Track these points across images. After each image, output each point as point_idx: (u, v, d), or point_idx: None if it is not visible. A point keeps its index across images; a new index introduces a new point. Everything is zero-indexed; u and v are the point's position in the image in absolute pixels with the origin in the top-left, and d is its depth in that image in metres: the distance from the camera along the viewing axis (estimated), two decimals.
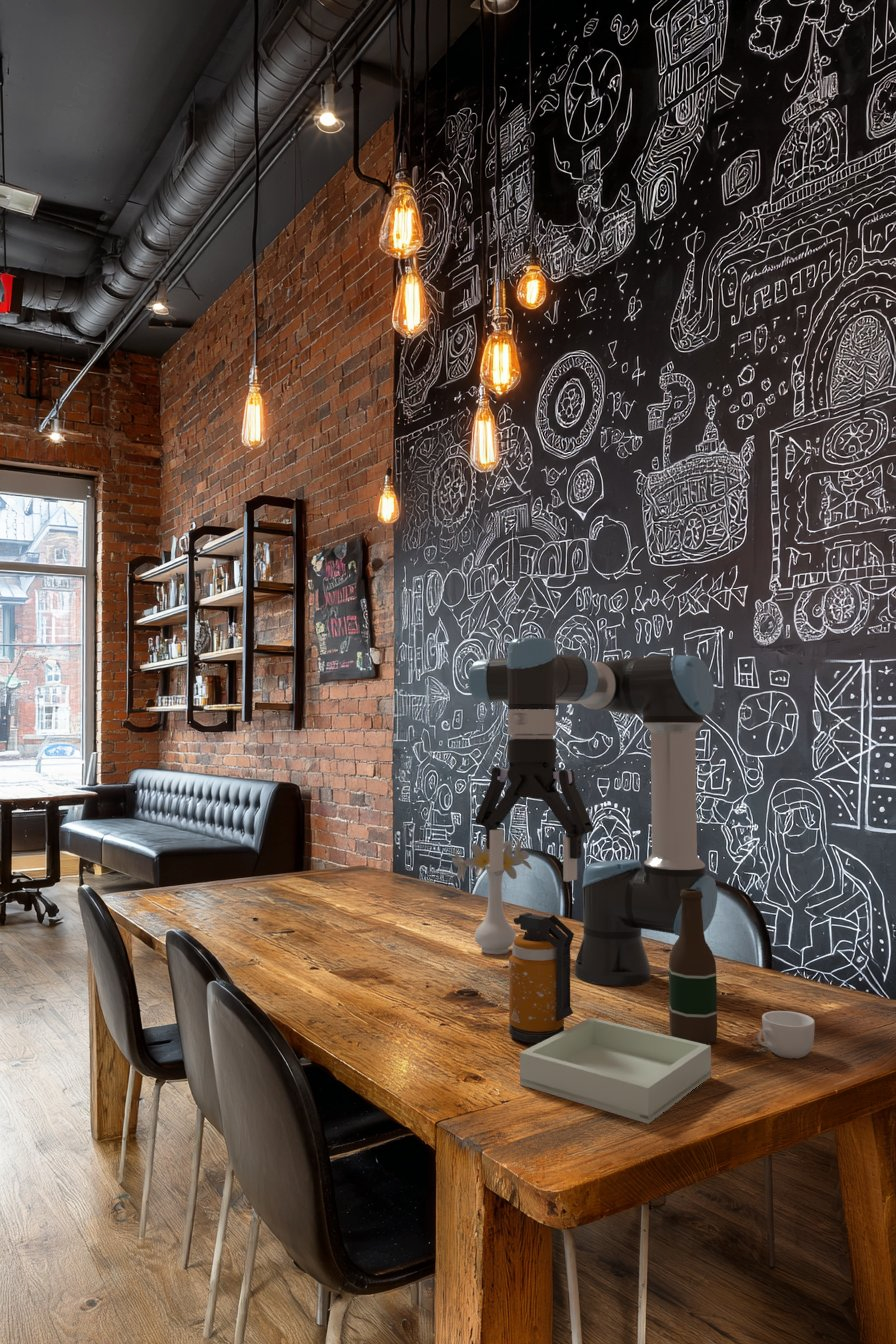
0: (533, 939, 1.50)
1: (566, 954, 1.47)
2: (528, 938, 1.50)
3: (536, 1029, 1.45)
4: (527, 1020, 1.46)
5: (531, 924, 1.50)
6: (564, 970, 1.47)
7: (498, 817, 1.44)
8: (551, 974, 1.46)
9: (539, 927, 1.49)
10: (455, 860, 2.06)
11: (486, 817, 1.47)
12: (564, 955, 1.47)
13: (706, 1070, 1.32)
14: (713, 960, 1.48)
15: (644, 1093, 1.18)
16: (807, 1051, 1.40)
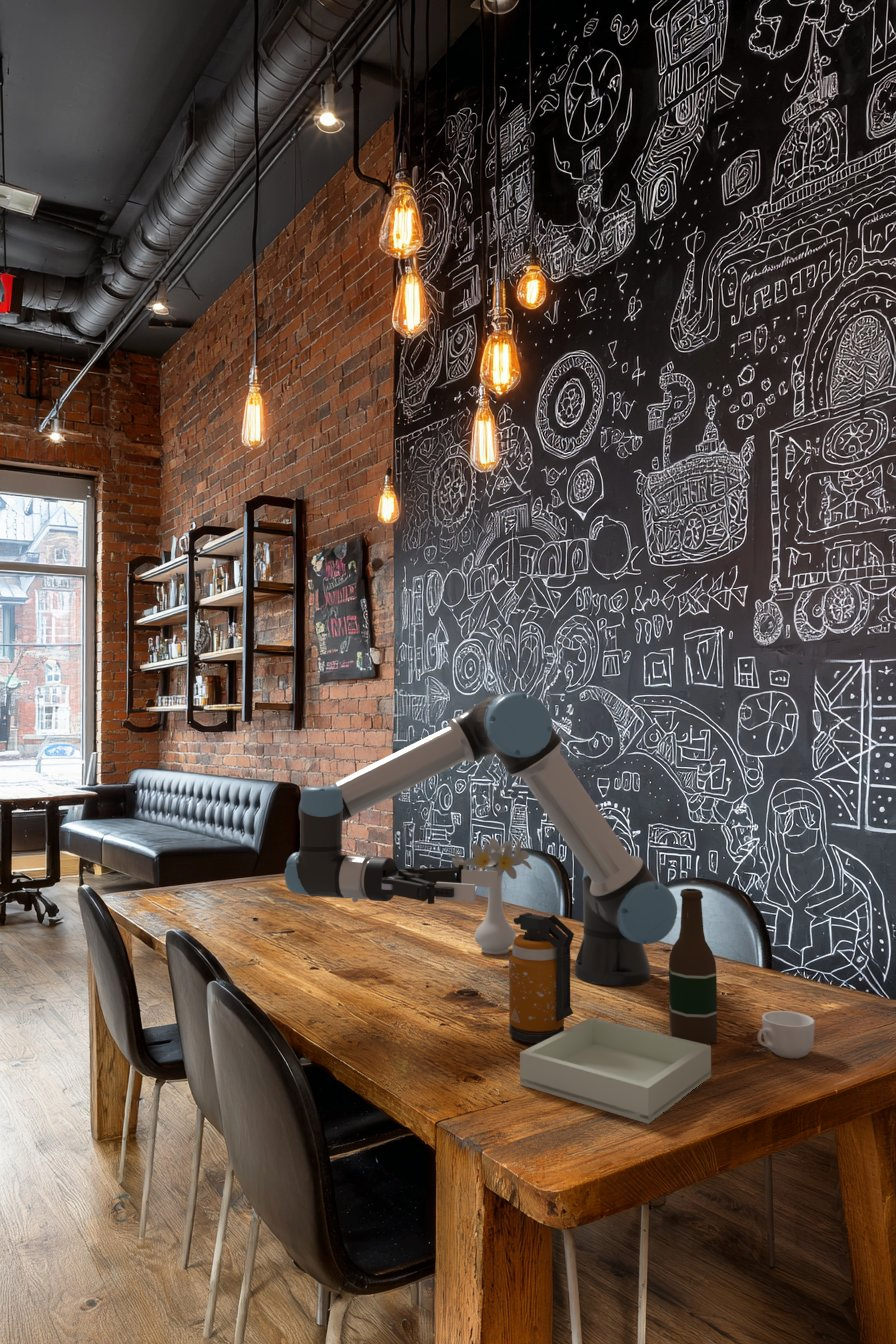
0: (533, 939, 1.50)
1: (566, 954, 1.47)
2: (528, 938, 1.50)
3: (536, 1029, 1.45)
4: (527, 1020, 1.46)
5: (531, 924, 1.50)
6: (564, 970, 1.47)
7: (449, 882, 1.62)
8: (551, 974, 1.46)
9: (539, 927, 1.49)
10: (455, 860, 2.06)
11: (456, 873, 1.64)
12: (564, 955, 1.47)
13: (706, 1070, 1.32)
14: (713, 960, 1.48)
15: (644, 1093, 1.18)
16: (807, 1051, 1.40)
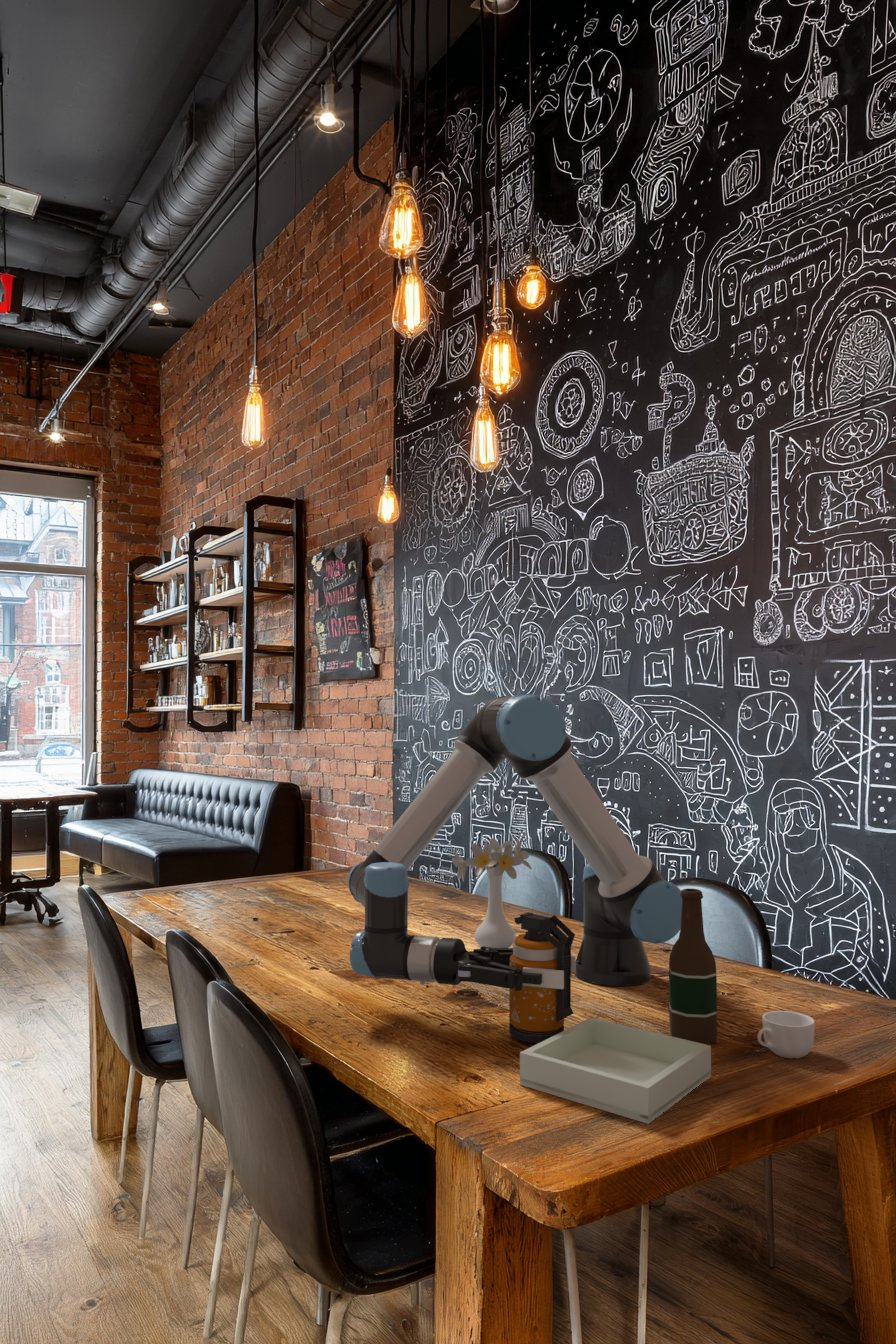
0: (534, 939, 1.49)
1: (567, 955, 1.47)
2: (529, 938, 1.50)
3: (536, 1029, 1.45)
4: (527, 1020, 1.46)
5: (532, 924, 1.50)
6: (565, 970, 1.47)
7: None
8: None
9: (539, 927, 1.49)
10: (455, 860, 2.06)
11: None
12: (565, 956, 1.46)
13: (706, 1070, 1.32)
14: (713, 960, 1.48)
15: (644, 1093, 1.18)
16: (807, 1051, 1.40)
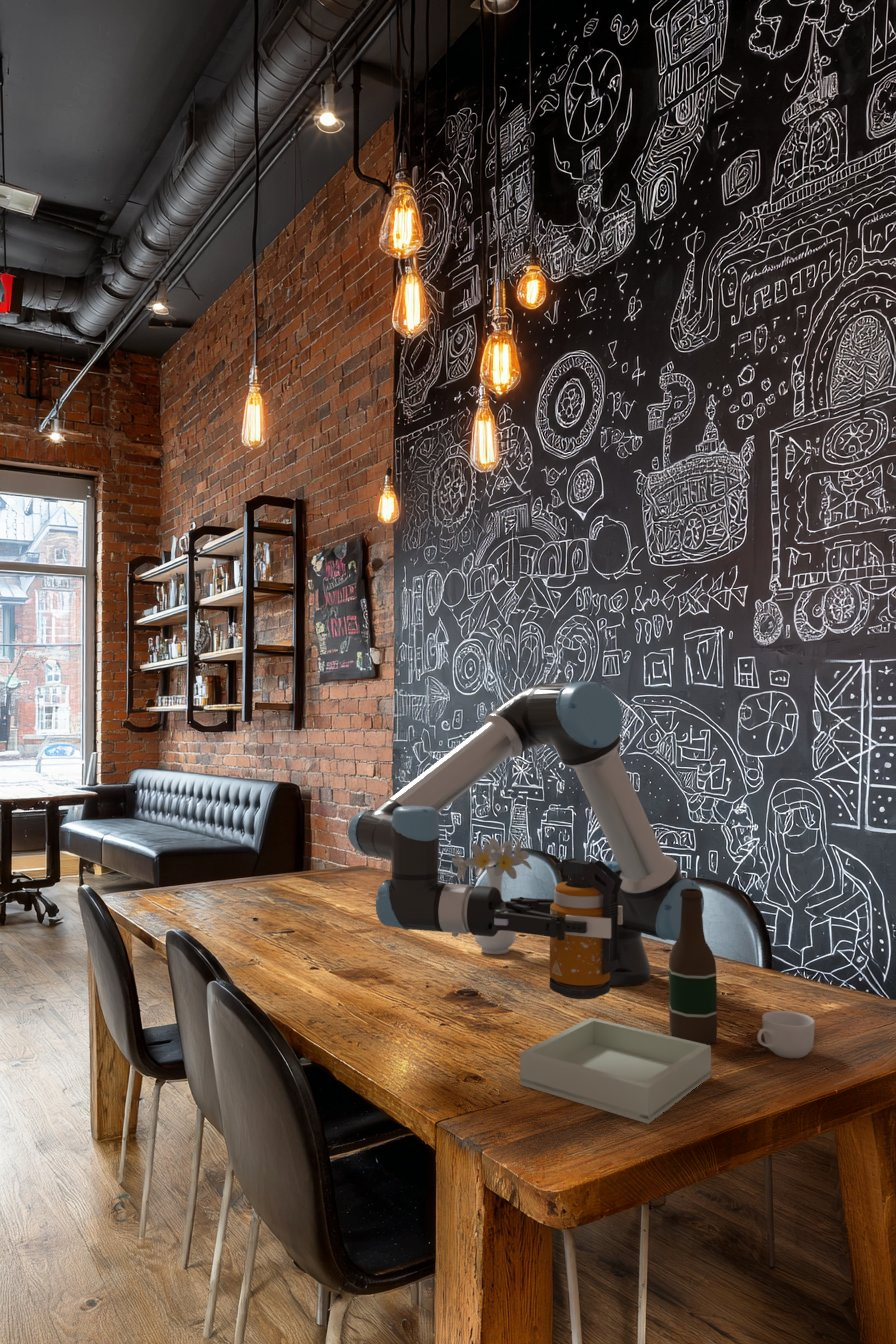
0: (577, 885, 1.36)
1: (613, 902, 1.34)
2: (571, 885, 1.37)
3: (580, 983, 1.32)
4: (570, 973, 1.33)
5: (575, 869, 1.37)
6: (611, 919, 1.34)
7: None
8: None
9: (583, 872, 1.36)
10: (455, 860, 2.06)
11: None
12: (611, 903, 1.33)
13: (706, 1070, 1.32)
14: (713, 960, 1.48)
15: (644, 1093, 1.18)
16: (807, 1051, 1.40)
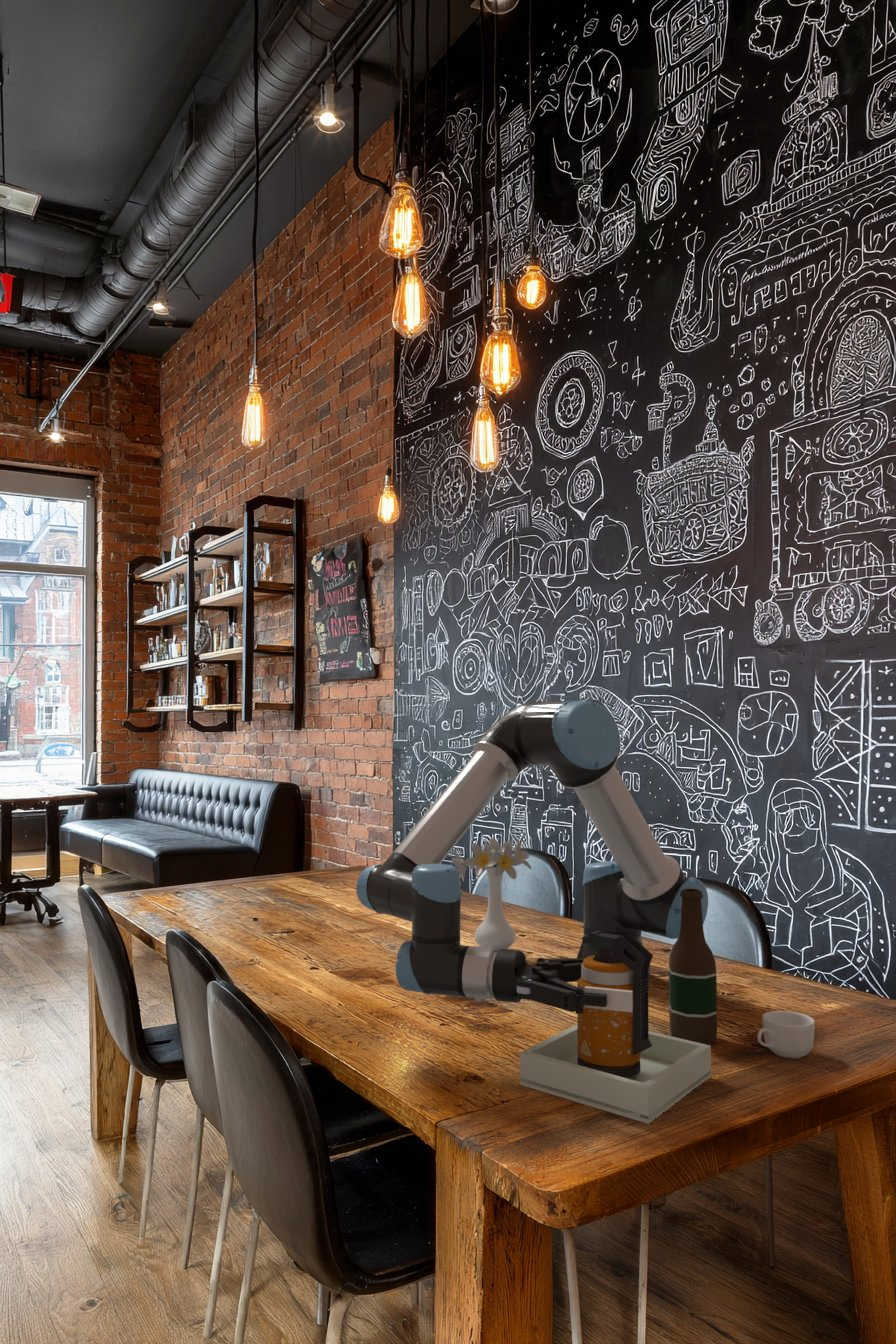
0: (605, 960, 1.32)
1: (644, 978, 1.29)
2: (599, 959, 1.33)
3: (610, 1064, 1.28)
4: (600, 1053, 1.28)
5: (603, 943, 1.32)
6: (642, 996, 1.29)
7: None
8: None
9: (612, 947, 1.32)
10: (455, 860, 2.06)
11: None
12: (642, 979, 1.29)
13: (706, 1070, 1.32)
14: (713, 960, 1.48)
15: (644, 1093, 1.18)
16: (807, 1051, 1.40)
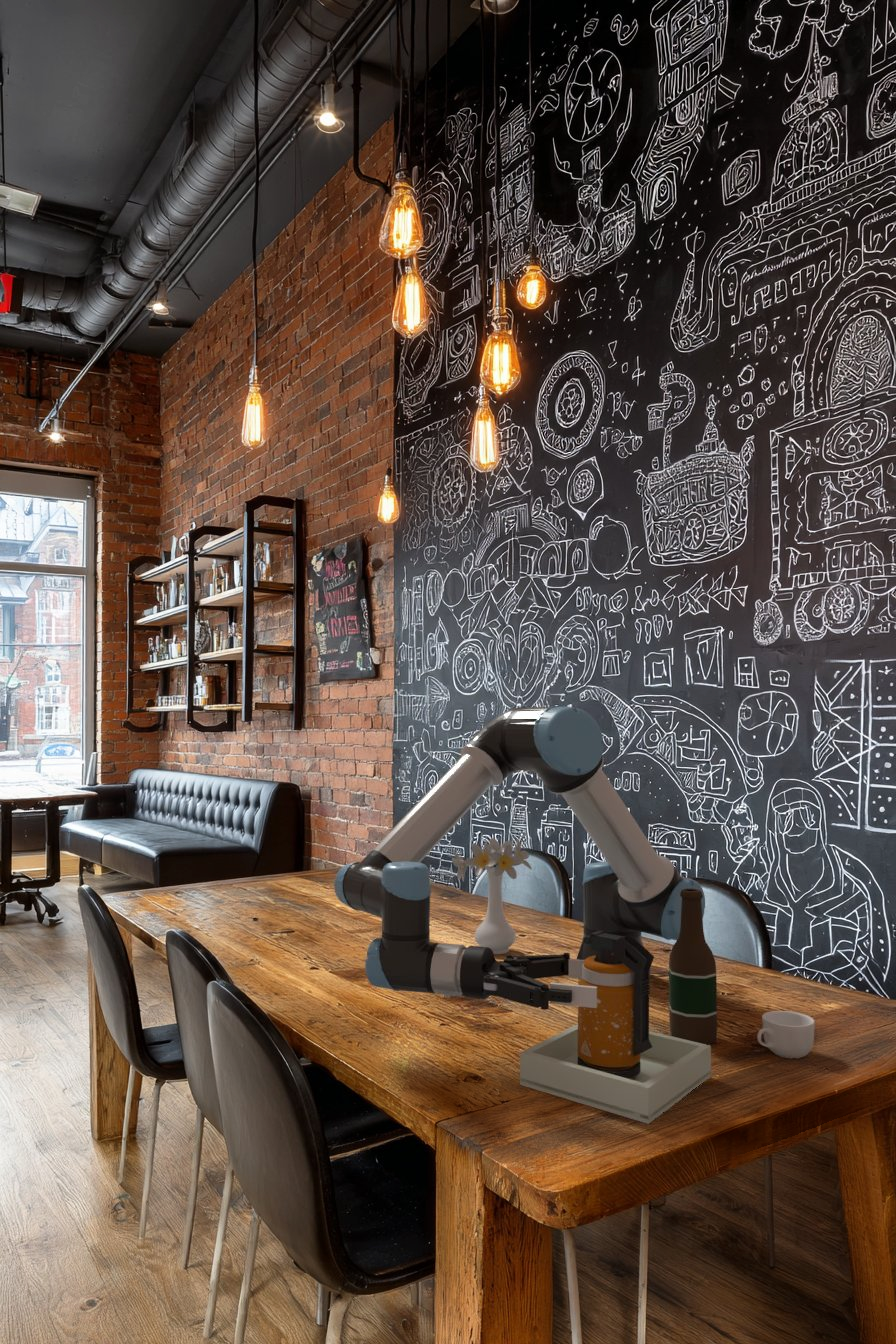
0: (606, 961, 1.32)
1: (645, 979, 1.29)
2: (600, 960, 1.32)
3: (610, 1065, 1.28)
4: (600, 1054, 1.28)
5: (604, 944, 1.32)
6: (642, 998, 1.29)
7: (554, 974, 1.41)
8: (627, 1002, 1.28)
9: (613, 948, 1.31)
10: (455, 860, 2.06)
11: None
12: (643, 981, 1.29)
13: (706, 1070, 1.32)
14: (713, 960, 1.48)
15: (644, 1093, 1.18)
16: (807, 1051, 1.40)
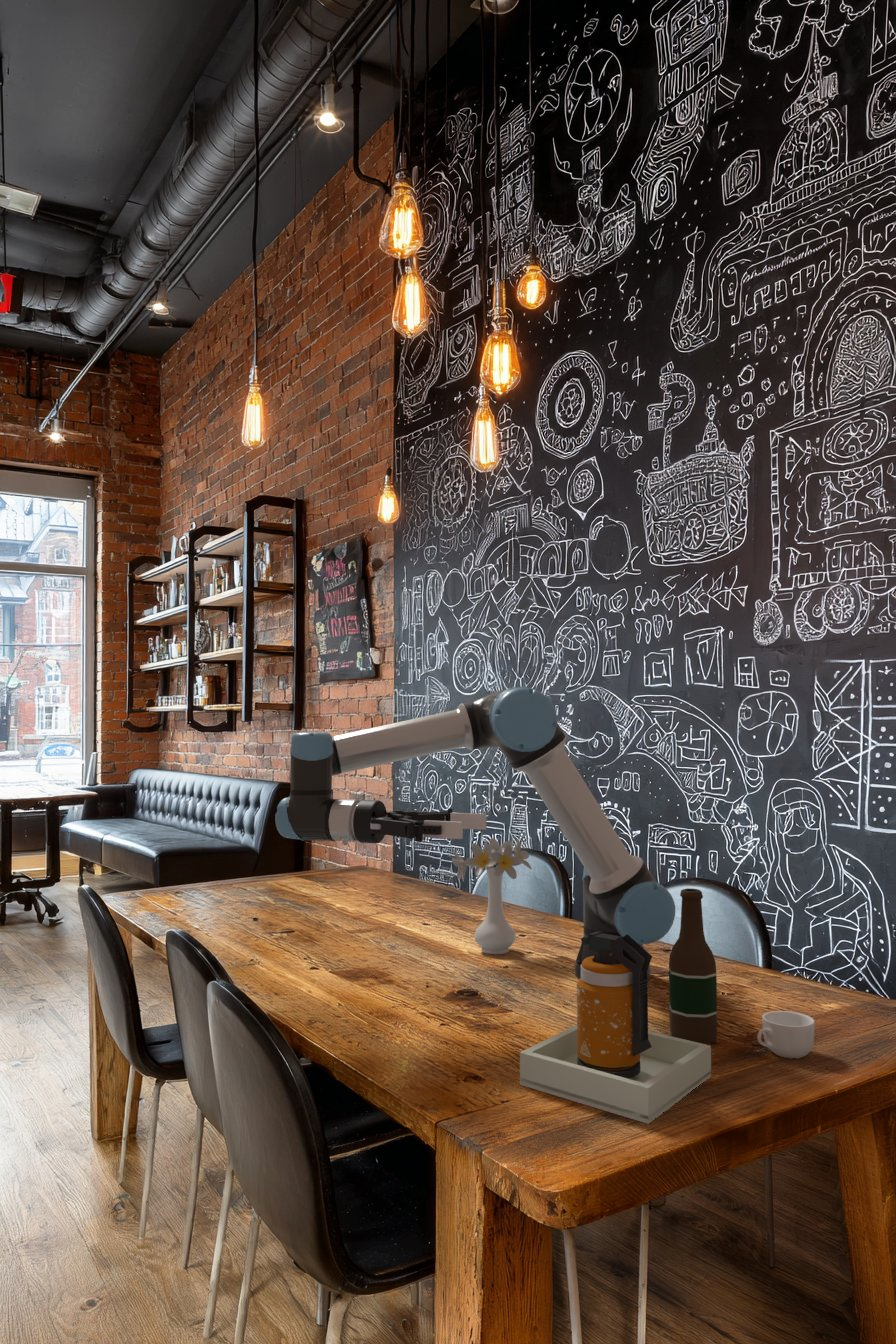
0: (604, 961, 1.32)
1: (643, 979, 1.29)
2: (598, 960, 1.32)
3: (610, 1065, 1.28)
4: (599, 1055, 1.28)
5: (602, 944, 1.32)
6: (641, 997, 1.29)
7: None
8: (626, 1002, 1.28)
9: (611, 948, 1.31)
10: (455, 860, 2.06)
11: None
12: (641, 981, 1.29)
13: (706, 1070, 1.32)
14: (713, 960, 1.48)
15: (644, 1093, 1.18)
16: (807, 1051, 1.40)
